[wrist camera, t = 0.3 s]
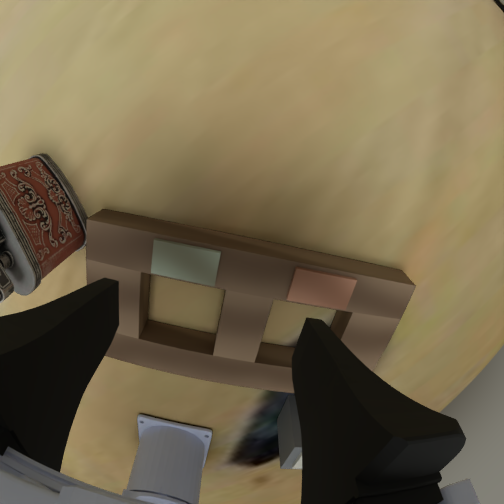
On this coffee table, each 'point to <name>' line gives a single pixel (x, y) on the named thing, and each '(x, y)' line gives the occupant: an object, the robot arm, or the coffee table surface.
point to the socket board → (236, 298)
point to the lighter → (36, 223)
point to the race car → (500, 3)
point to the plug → (289, 435)
